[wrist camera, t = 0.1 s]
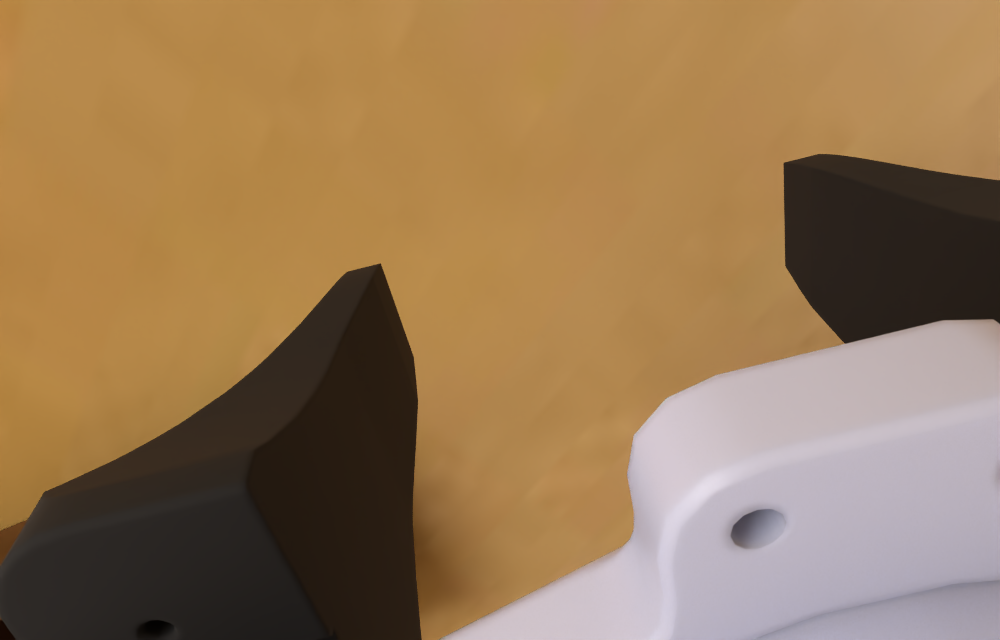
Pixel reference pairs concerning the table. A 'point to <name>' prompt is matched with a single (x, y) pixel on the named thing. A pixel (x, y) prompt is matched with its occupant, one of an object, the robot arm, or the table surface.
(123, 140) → the table surface
